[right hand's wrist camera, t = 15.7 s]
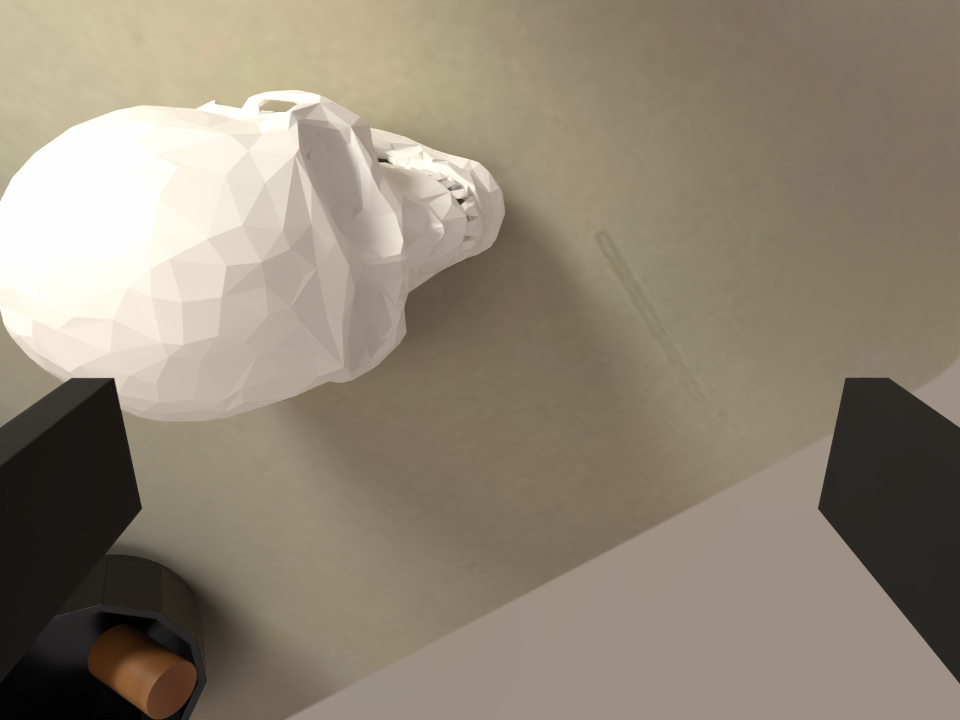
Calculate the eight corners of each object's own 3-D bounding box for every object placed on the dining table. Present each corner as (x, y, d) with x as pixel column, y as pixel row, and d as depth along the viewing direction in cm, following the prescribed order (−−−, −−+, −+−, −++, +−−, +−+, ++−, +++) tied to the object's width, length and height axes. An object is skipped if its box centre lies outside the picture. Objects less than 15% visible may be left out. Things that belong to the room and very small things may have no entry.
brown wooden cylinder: (93, 688, 43) (152, 732, 40) (81, 646, 42) (141, 688, 39) (142, 653, 46) (201, 691, 43) (133, 613, 45) (192, 649, 42)
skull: (525, 301, 39) (550, 408, 24) (162, 372, 41) (-27, 515, 26) (479, 52, 35) (474, -5, 20) (76, 142, 37) (-209, 152, 22)
